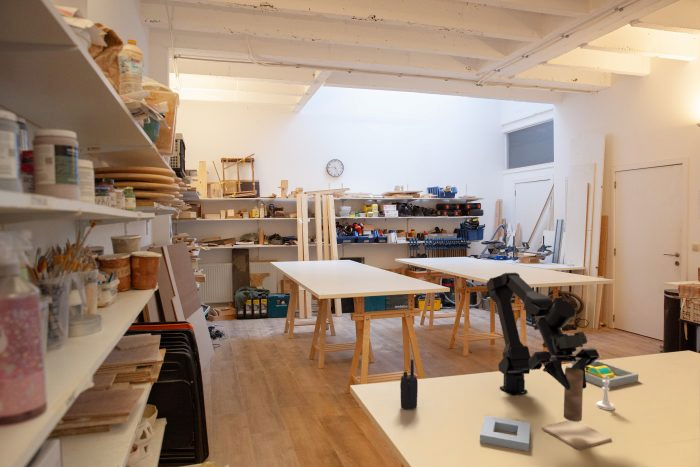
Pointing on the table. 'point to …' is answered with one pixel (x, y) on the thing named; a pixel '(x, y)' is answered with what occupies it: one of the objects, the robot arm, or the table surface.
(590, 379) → the tray
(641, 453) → the table surface
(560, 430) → the wooden coaster
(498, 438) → the holder block
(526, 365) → the robot arm
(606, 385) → the chess piece
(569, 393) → the walnut dowel
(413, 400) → the two-way radio
